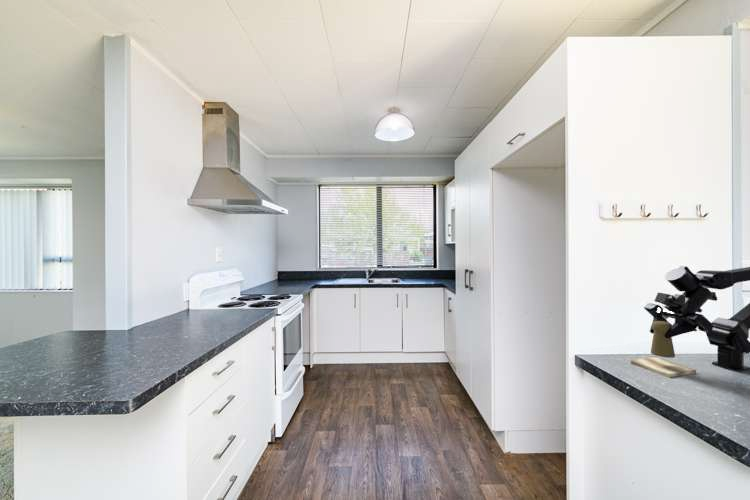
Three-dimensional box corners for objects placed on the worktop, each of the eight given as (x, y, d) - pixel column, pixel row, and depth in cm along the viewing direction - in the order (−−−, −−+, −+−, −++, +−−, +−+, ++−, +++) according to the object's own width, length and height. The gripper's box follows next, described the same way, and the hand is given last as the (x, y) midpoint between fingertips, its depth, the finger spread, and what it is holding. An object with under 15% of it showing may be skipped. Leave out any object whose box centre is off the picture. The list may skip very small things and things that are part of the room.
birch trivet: (655, 359, 109) (655, 356, 109) (695, 372, 98) (695, 369, 98) (630, 363, 107) (630, 360, 107) (669, 377, 95) (669, 374, 95)
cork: (677, 358, 98) (676, 324, 98) (652, 355, 101) (651, 322, 101) (673, 353, 103) (672, 320, 103) (649, 350, 106) (648, 318, 106)
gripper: (648, 281, 111) (618, 312, 111) (703, 288, 92) (666, 326, 93) (670, 301, 111) (640, 332, 111) (729, 313, 92) (693, 350, 93)
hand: (658, 334), depth 102 cm, fingers closed on cork, 5 cm apart
